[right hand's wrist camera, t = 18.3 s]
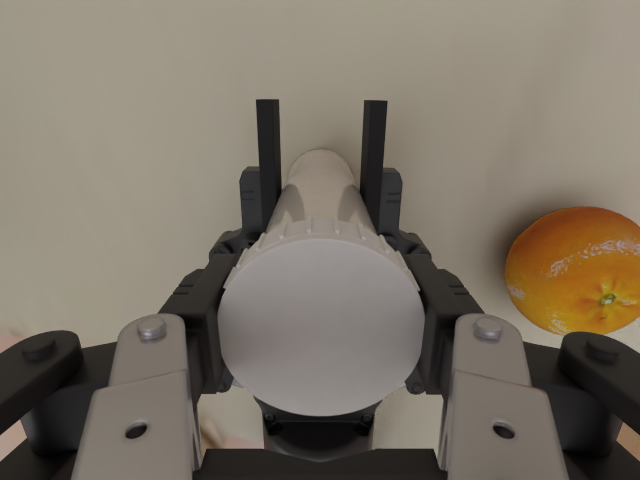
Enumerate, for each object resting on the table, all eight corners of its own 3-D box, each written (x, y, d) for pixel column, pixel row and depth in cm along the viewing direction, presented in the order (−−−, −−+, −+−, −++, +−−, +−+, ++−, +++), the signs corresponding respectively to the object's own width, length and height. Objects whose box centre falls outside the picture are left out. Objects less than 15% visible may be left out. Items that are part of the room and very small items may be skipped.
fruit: (486, 338, 26) (619, 367, 19) (475, 217, 26) (603, 201, 19) (558, 316, 30) (691, 335, 23) (548, 211, 30) (678, 196, 23)
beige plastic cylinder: (305, 137, 25) (278, 214, 9) (363, 167, 25) (440, 290, 9) (278, 195, 26) (210, 354, 10) (333, 222, 27) (354, 411, 11)
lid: (190, 312, 11) (170, 346, 9) (309, 172, 9) (307, 186, 8) (329, 405, 12) (330, 448, 10) (454, 294, 10) (475, 327, 9)
